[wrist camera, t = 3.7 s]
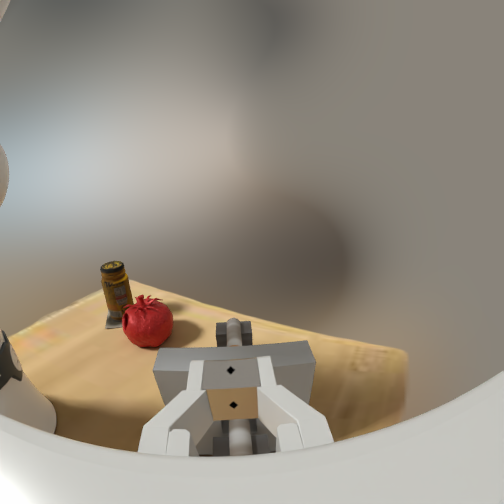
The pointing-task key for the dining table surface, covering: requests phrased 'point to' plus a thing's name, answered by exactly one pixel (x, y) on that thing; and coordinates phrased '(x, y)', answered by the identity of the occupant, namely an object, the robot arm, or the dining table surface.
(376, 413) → the dining table surface
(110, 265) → the condiment
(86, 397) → the dining table surface
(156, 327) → the pomegranate
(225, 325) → the pipe rig
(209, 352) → the grey slab
